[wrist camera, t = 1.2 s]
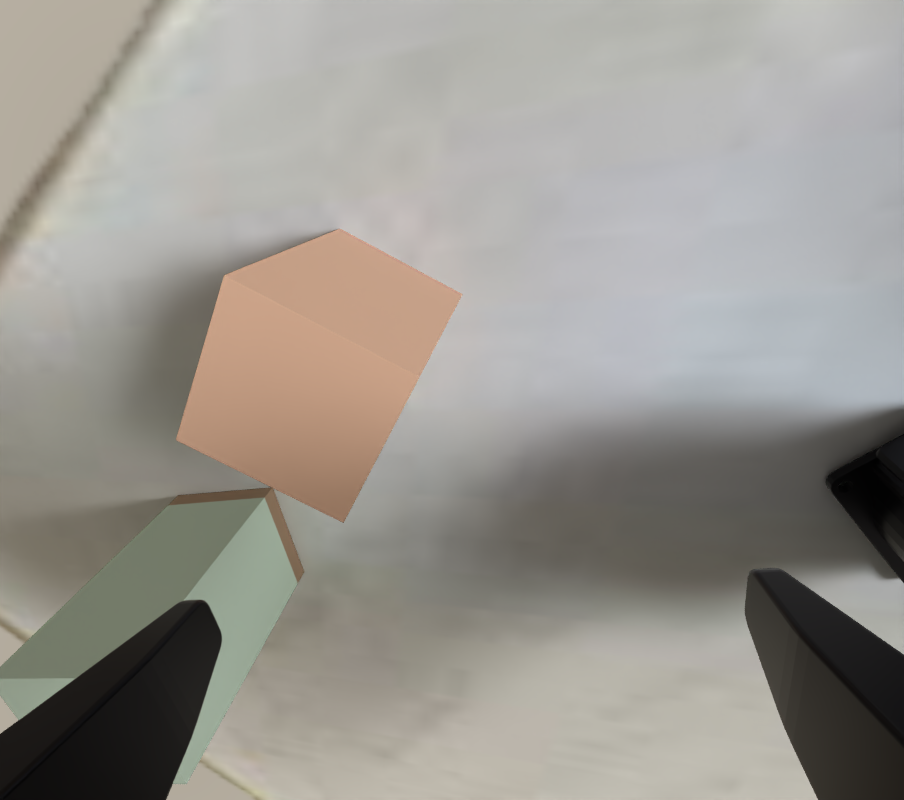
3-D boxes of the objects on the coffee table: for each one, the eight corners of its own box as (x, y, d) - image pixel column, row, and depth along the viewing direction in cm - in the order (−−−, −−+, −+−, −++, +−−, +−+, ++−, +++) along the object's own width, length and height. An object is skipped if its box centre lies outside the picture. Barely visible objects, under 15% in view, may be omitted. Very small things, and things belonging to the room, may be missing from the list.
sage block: (272, 487, 25) (122, 678, 16) (304, 571, 27) (186, 783, 18) (178, 495, 26) (-13, 678, 17) (215, 576, 28) (62, 778, 19)
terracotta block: (462, 294, 20) (419, 376, 13) (407, 400, 22) (343, 522, 15) (339, 228, 19) (224, 274, 12) (295, 343, 22) (175, 440, 14)
